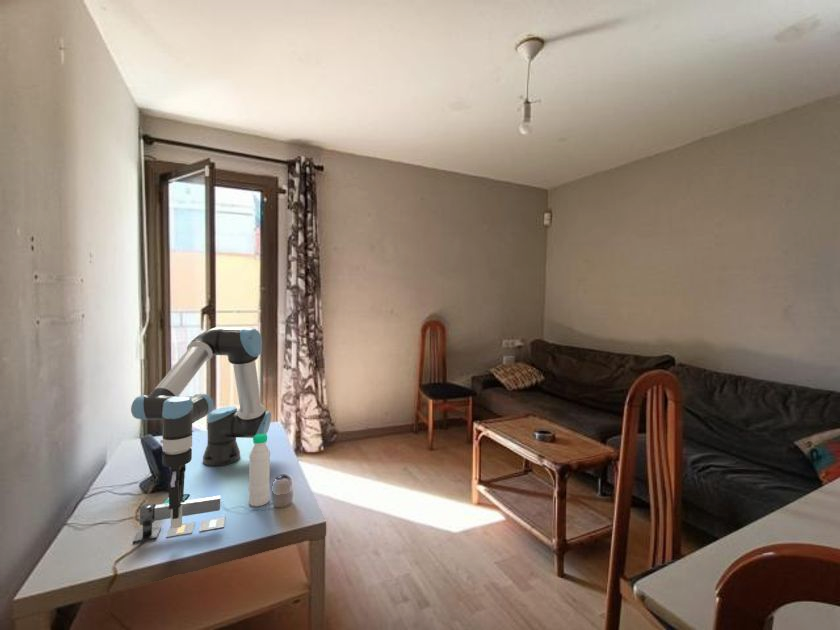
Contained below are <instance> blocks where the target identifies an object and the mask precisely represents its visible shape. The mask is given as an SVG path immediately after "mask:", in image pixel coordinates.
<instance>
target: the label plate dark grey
mask: <svg viewBox="0 0 840 630" xmlns="http://www.w3.org/2000/svg"><path fill="white" fill-rule="evenodd" d="M200 523H201V524H200V528H199V530H198V531H199V532H198V533H201V532H208V531H214V530H218V529H224V528H225V525H226V524H225V523H226V516H224V517H223V516H221V517H217V518H211V519H206V520H205V519H204V520H201V522H200Z"/></svg>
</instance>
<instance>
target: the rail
mask: <svg viewBox="0 0 840 630" xmlns="http://www.w3.org/2000/svg"><path fill="white" fill-rule="evenodd" d="M181 504H182V517H187V516H192V515H193V516H194V515H199V514H204V513H210V512H212V513H214V512H218V511H220V510H221V495H216V496H215V495H213V496H209V497H202V498H194V499H187V500H186V501H185V502H183V503H181ZM168 506H169V503H166V504H162V503H160V504H156V503H154V502H148V503H144V504H142V505H141V506H140V507H139V525H140V526H143V525H148V524H151V523H152V524H153V523H154V522H155V521H161V520H169V519H171V509H168Z"/></svg>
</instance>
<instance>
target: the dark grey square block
mask: <svg viewBox="0 0 840 630" xmlns="http://www.w3.org/2000/svg"><path fill="white" fill-rule="evenodd" d="M161 530H162V526H161V525H159V526H154V527H153V523H151V524H148V525H142V528H141V529H138V530H137V532H136V535H134V538H133V540H132V545H135V544H139V543H144V542H146V543H147V542H151V541H157V539H158V537H159V534H160V532H161Z"/></svg>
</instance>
